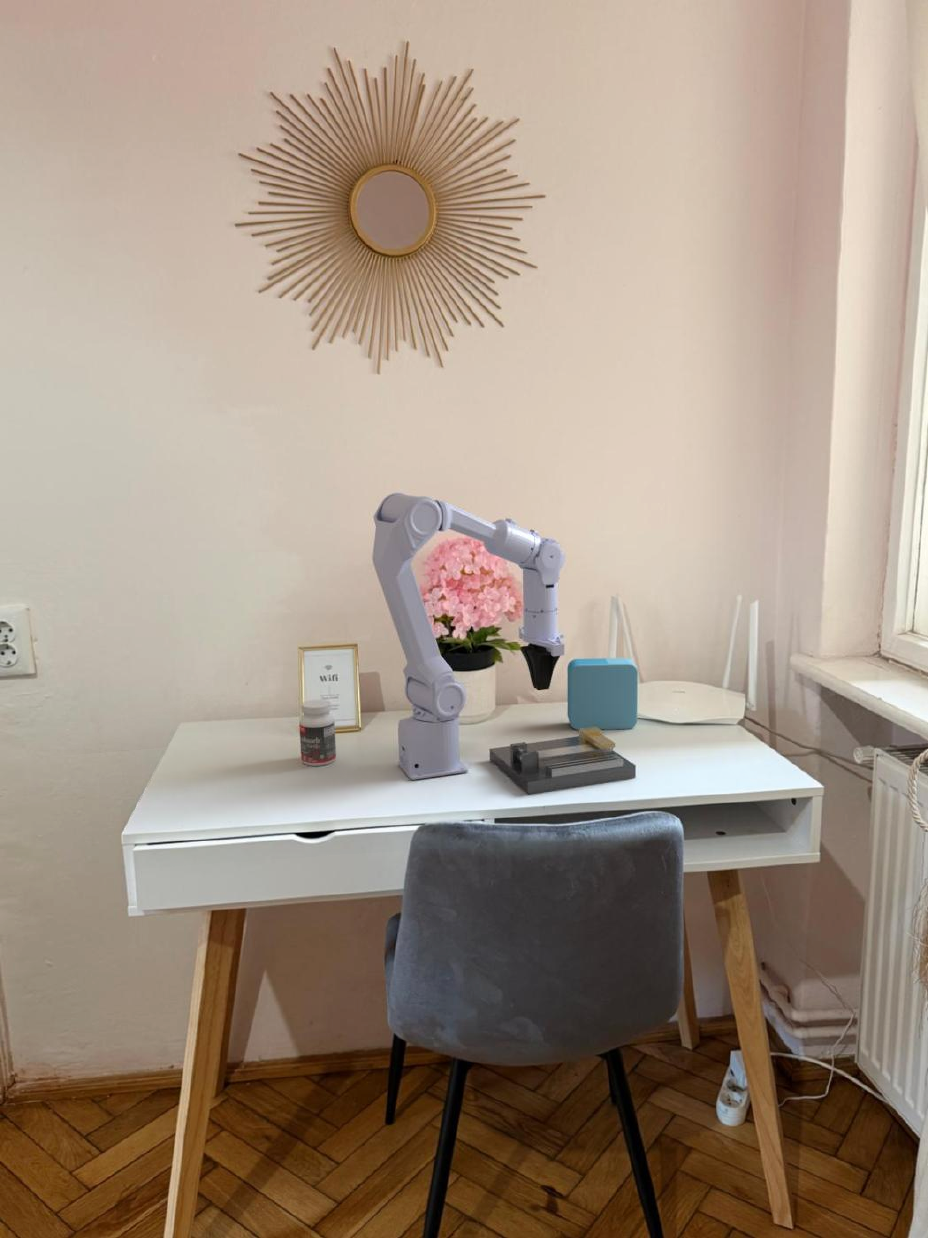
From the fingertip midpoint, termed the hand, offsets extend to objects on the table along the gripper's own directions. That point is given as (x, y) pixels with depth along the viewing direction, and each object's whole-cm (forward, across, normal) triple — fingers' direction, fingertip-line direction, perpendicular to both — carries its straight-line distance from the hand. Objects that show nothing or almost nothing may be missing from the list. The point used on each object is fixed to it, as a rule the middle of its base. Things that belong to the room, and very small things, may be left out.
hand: (541, 688), depth 169 cm
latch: (+8, -13, -4) cm, 16 cm away
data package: (+10, +5, -14) cm, 18 cm away
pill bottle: (+10, +7, +37) cm, 39 cm away
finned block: (+10, -12, +2) cm, 16 cm away
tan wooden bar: (+7, -14, +2) cm, 16 cm away
